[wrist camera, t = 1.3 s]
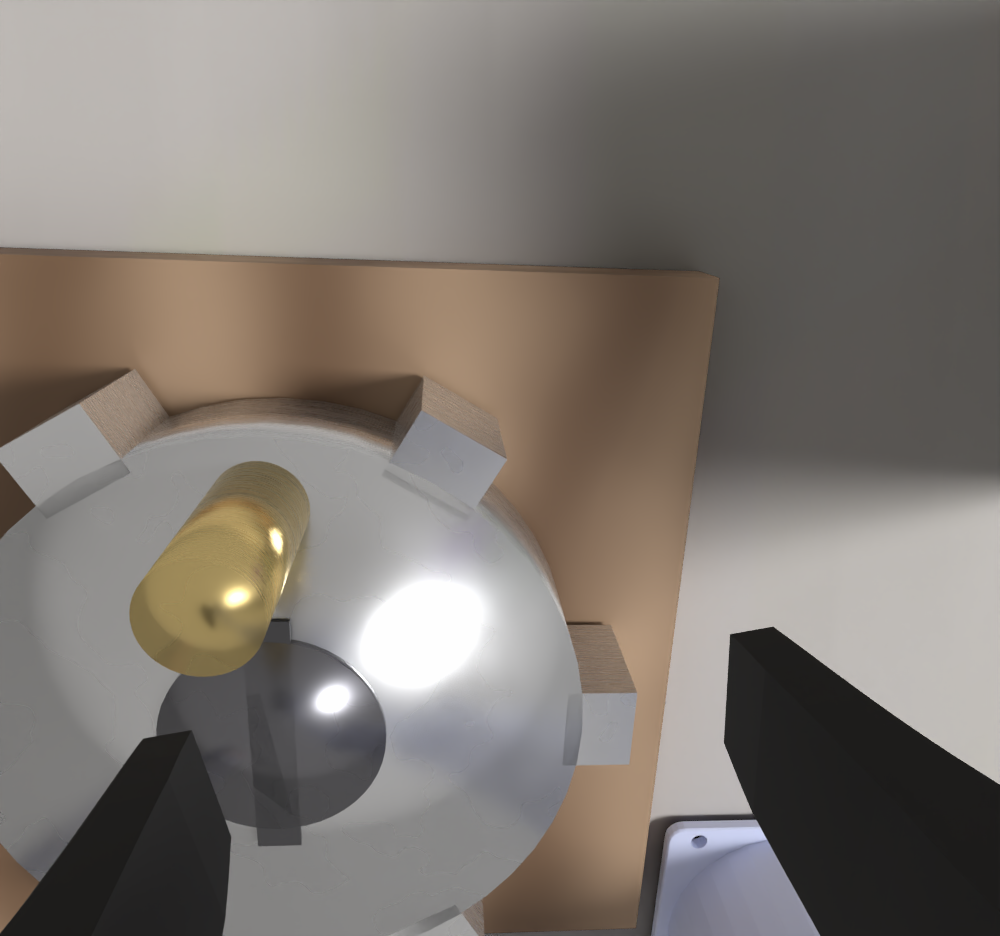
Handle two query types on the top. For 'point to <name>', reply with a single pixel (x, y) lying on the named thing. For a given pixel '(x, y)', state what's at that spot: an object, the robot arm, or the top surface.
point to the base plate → (385, 391)
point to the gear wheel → (298, 649)
